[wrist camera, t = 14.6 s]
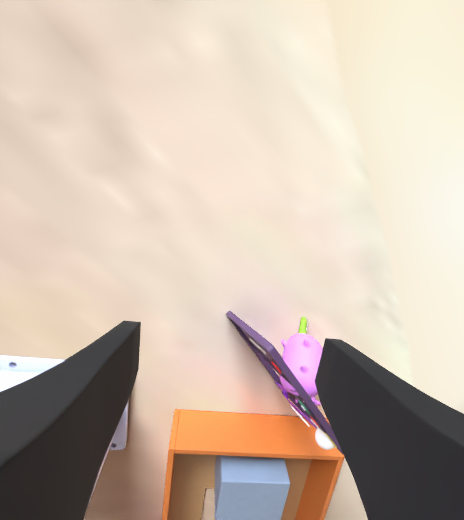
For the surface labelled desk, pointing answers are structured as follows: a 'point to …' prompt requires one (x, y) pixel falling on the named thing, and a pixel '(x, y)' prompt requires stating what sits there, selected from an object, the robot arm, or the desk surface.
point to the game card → (293, 374)
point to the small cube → (250, 488)
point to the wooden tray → (253, 445)
